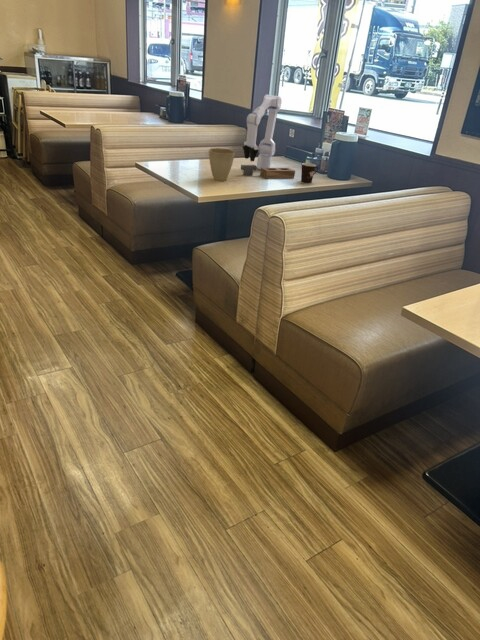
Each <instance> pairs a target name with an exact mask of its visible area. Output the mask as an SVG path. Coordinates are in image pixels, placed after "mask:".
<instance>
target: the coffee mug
mask: <svg viewBox="0 0 480 640" xmlns="http://www.w3.org/2000/svg"><path fill="white" fill-rule="evenodd" d="M318 169H319V168H318V166H317V165H316V164H314V163H309V162H303V163H301V175H300V176H301V178H300V181H301V182H302V183H308V184H310V183H313V179H314V175H315V174H316V173H317V172H318Z"/></svg>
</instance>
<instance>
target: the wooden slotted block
mask: <svg viewBox="0 0 480 640" xmlns="http://www.w3.org/2000/svg"><path fill="white" fill-rule="evenodd" d="M259 175H260V176H261V177H263V178H264V179H294V178H295V175H296V170H295V169H292V168H291V167H270V168H261V170H260V173H259Z"/></svg>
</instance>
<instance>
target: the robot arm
mask: <svg viewBox="0 0 480 640" xmlns="http://www.w3.org/2000/svg"><path fill="white" fill-rule="evenodd" d="M281 106H282V97H281V96H280V95H271V94H267V93H266V94H265V95H264V96H263V101H262V103H261V104H260V106H257V107H256V108H255V109H254V110H253V112H251V113H249V114H248V115H247V117H246V128H247V132H246V140H245V141H244V142H243V146H242V149H243V153H244V154H243V156H244V159H245V160H246V159H249V160H250V162H255V159H256V158H257V161H256V169H258V170H260V171H261V168H271V166H272V165H271V163H272V157H273V156H274V155H275V154H276V142H275V141H274V140H273V138H274V137H273V136H274V132H275V126H276V122H277V117H278V113H279V112H280V111H281ZM266 110H267V111H268V117H267V123H266V127H265V128H266V129H265V135H264V138H263V139H262V140H260V143H259V144H258V145H257V144H256V143H257V134H258V126H259V125H260V122H261V120H262V118H263V116H265V114H266V113H265V112H266ZM258 153H259V154H258ZM257 154H258V157H256V156H257Z"/></svg>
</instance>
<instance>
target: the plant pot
mask: <svg viewBox="0 0 480 640" xmlns="http://www.w3.org/2000/svg"><path fill="white" fill-rule="evenodd" d="M235 154H236V151H235V150H232V149H228V148H219V147H217V148H216V147H215V148H209V149H208V157H209V165H210V171H211V175H212V178H213V180H215V181H219V182H224V181H227V179H228V177H229V174H230V173H231V169H232V167H233V163H234V158H235V156H236V155H235Z"/></svg>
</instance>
